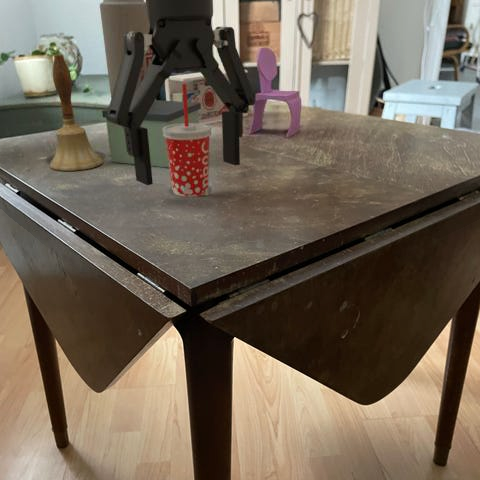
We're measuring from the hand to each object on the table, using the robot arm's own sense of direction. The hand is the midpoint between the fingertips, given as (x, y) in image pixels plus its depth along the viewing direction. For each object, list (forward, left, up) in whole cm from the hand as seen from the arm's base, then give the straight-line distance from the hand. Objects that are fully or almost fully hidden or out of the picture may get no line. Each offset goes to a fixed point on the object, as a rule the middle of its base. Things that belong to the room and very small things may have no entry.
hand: (190, 172), depth 70 cm
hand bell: (-25, +9, -4) cm, 27 cm away
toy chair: (-2, +42, -4) cm, 42 cm away
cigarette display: (-19, +50, -4) cm, 54 cm away
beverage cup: (0, 0, -4) cm, 4 cm away
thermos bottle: (-24, +27, -4) cm, 36 cm away
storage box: (-15, +18, -3) cm, 24 cm away
